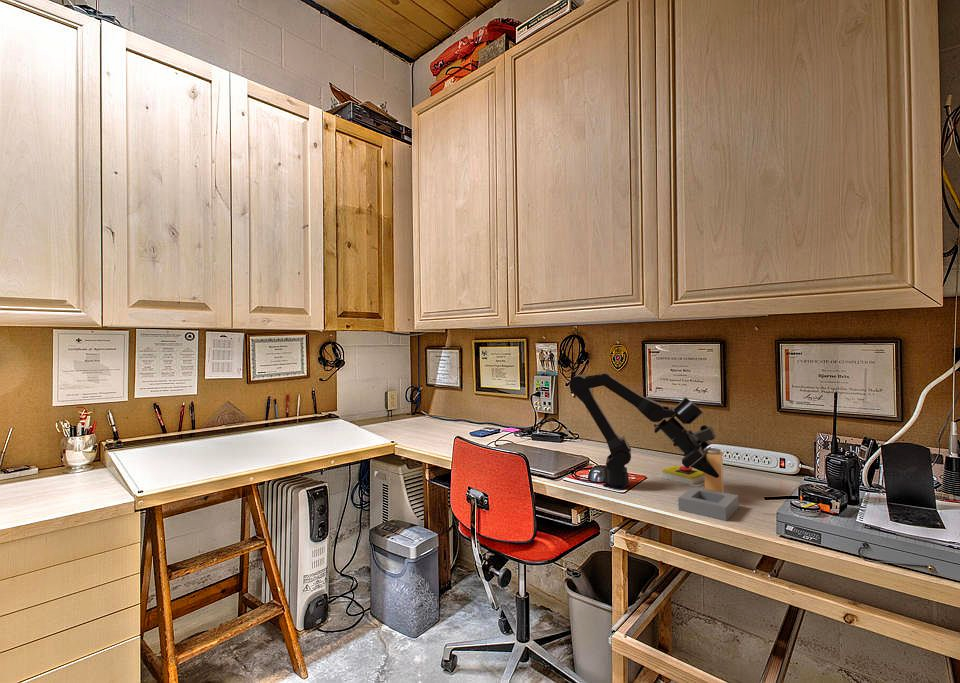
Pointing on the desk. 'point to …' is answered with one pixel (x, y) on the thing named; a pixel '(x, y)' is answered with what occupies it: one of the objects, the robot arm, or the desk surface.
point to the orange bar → (717, 462)
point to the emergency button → (683, 475)
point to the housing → (708, 503)
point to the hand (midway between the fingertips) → (719, 474)
